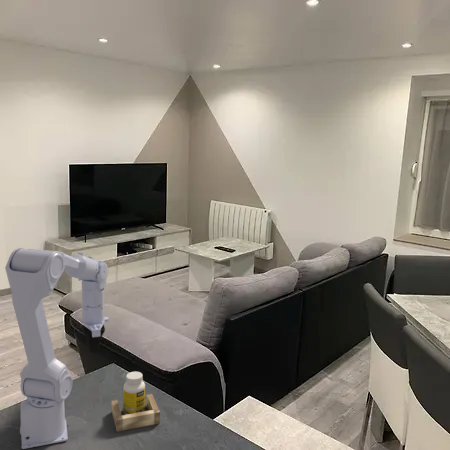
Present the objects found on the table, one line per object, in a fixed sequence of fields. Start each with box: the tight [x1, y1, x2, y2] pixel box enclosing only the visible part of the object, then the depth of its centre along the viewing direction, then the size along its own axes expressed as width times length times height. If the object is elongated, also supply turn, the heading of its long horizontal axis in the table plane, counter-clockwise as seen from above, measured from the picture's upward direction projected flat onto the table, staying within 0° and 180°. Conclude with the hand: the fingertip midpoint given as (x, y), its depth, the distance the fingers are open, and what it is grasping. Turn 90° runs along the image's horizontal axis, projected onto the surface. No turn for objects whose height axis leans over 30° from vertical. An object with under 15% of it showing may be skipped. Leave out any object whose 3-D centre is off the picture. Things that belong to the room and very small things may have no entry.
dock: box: [111, 393, 161, 432], centre depth 112 cm, size 10×8×3 cm
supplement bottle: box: [122, 371, 146, 415], centre depth 114 cm, size 5×5×10 cm
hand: (93, 351), depth 123 cm, fingers closed
